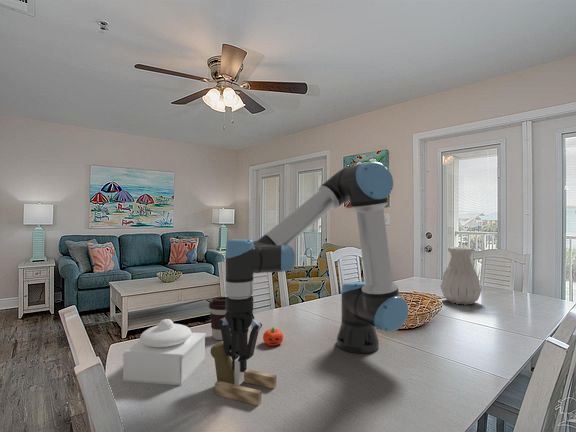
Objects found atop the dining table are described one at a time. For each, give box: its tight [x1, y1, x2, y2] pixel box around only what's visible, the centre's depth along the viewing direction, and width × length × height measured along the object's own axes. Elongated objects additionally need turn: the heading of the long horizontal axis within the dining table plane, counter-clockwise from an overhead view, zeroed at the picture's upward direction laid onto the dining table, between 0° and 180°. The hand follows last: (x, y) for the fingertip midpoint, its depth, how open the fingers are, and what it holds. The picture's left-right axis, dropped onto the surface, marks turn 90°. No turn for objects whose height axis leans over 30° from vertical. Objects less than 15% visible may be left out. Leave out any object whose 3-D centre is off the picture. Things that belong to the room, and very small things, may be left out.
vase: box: [440, 246, 482, 306], centre depth 186 cm, size 20×20×30 cm
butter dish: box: [122, 318, 207, 386], centre depth 104 cm, size 18×18×16 cm
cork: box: [210, 341, 235, 385], centre depth 94 cm, size 6×6×11 cm
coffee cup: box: [208, 296, 230, 341], centre depth 132 cm, size 10×10×15 cm
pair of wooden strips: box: [214, 368, 277, 406], centre depth 92 cm, size 13×10×3 cm
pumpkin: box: [262, 326, 284, 347], centre depth 125 cm, size 7×8×6 cm
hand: (239, 382), depth 92 cm, fingers closed
